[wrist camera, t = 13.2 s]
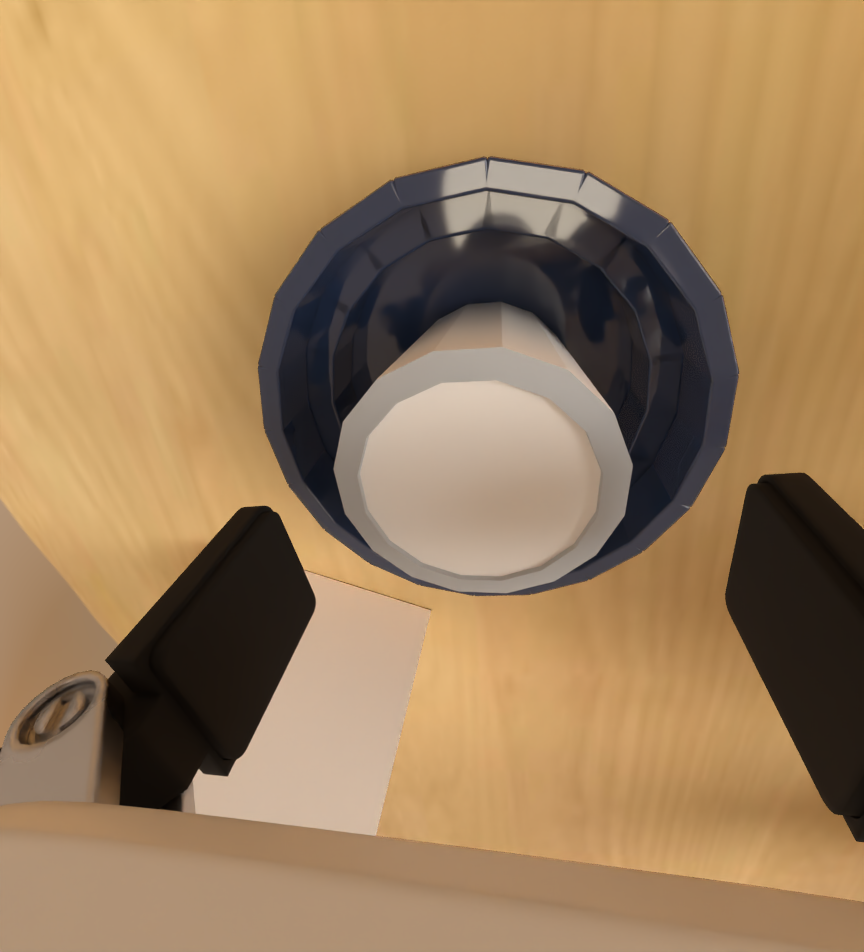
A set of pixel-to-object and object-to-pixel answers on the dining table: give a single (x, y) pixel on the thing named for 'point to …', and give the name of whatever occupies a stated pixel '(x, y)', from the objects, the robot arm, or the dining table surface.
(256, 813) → the milk
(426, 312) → the screw cap lid
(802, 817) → the dining table surface
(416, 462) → the white cup
